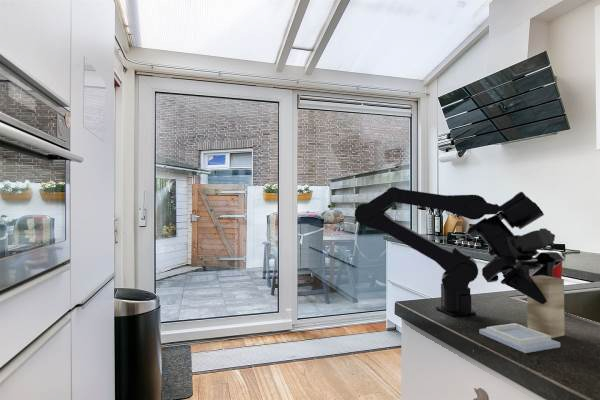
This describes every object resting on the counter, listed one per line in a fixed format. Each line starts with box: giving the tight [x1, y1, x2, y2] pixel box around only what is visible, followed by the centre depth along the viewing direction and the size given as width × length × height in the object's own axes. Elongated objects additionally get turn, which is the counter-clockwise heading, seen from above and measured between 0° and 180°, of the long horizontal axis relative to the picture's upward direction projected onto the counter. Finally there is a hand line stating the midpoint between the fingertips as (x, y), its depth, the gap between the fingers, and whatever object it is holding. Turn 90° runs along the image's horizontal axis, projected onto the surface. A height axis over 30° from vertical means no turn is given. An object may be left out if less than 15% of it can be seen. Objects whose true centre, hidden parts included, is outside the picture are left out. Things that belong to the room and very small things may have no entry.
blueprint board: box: [478, 322, 561, 354], centre depth 67 cm, size 10×8×2 cm
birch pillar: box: [526, 275, 566, 339], centre depth 71 cm, size 4×4×11 cm
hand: (552, 301), depth 69 cm, fingers closed on birch pillar, 4 cm apart
